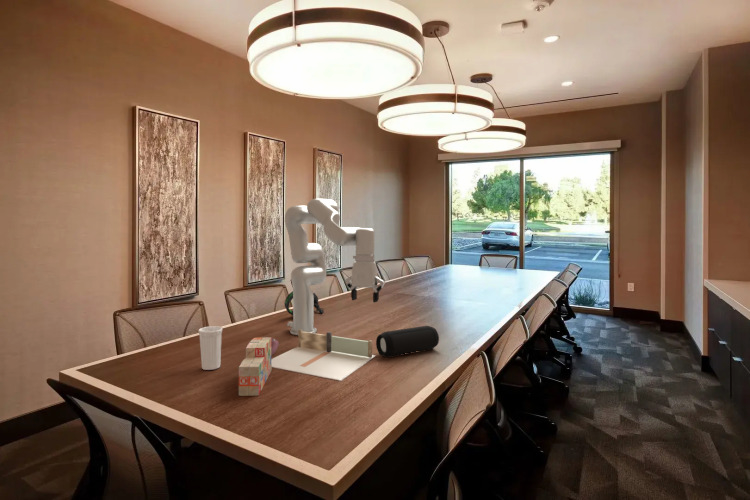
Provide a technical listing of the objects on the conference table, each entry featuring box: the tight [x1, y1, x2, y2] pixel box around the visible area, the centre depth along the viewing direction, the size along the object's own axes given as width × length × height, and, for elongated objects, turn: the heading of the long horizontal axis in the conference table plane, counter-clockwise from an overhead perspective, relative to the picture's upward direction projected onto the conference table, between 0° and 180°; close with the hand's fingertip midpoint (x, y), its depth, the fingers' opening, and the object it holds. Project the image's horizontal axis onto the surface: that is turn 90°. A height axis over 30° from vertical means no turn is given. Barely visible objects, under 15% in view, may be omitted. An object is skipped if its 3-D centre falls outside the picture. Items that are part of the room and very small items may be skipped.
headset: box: [284, 290, 325, 316], centre depth 228 cm, size 16×12×27 cm
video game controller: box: [263, 336, 280, 356], centre depth 167 cm, size 10×5×7 cm, turn 71°
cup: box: [197, 325, 223, 371], centre depth 148 cm, size 8×8×14 cm
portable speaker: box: [375, 325, 440, 358], centre depth 168 cm, size 26×10×10 cm, turn 120°
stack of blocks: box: [238, 337, 273, 397], centre depth 136 cm, size 21×6×12 cm, turn 4°
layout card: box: [271, 346, 376, 382], centre depth 158 cm, size 34×28×1 cm
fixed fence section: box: [297, 329, 333, 352], centre depth 170 cm, size 16×2×8 cm, turn 66°
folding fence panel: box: [331, 335, 373, 358], centre depth 163 cm, size 18×2×6 cm, turn 66°
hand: (364, 300), depth 167 cm, fingers open, 9 cm apart
